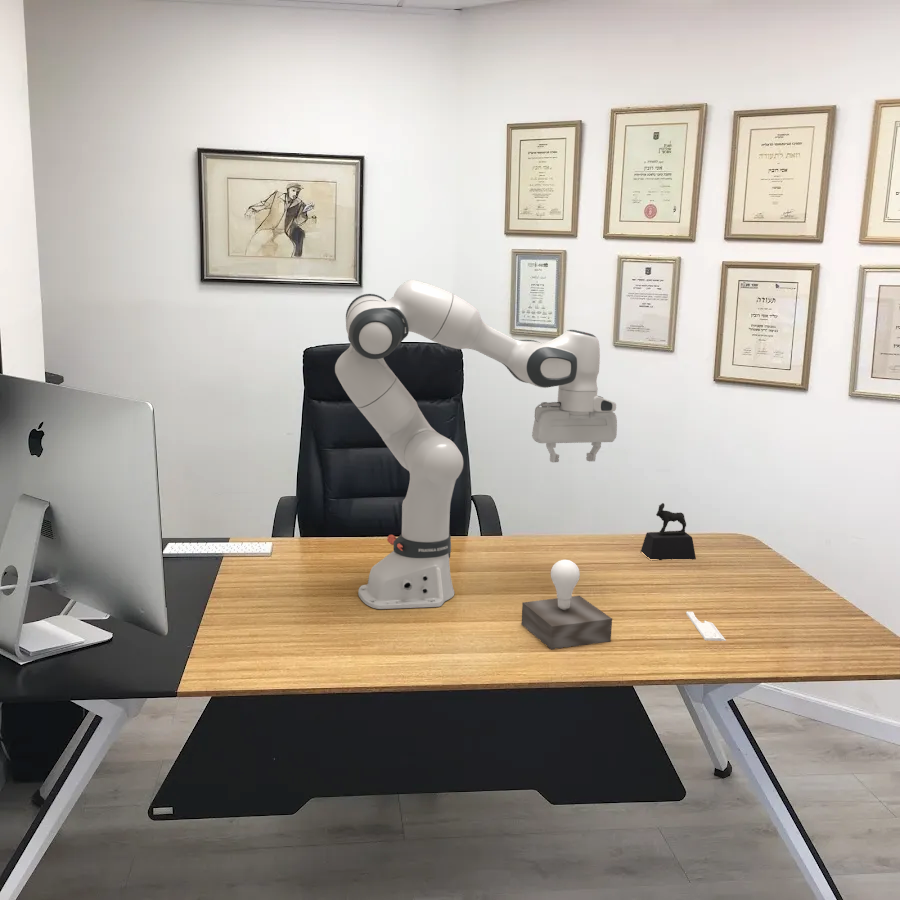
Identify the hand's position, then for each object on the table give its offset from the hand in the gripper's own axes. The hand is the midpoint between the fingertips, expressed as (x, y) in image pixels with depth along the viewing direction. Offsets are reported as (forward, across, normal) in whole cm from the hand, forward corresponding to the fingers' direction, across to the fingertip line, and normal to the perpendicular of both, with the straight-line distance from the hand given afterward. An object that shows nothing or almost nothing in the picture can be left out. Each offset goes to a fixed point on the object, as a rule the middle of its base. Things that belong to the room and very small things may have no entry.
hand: (572, 461), depth 215 cm
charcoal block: (+33, -10, -20) cm, 40 cm away
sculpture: (+31, +42, +20) cm, 56 cm away
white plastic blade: (+33, +22, -26) cm, 47 cm away
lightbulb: (+28, -10, -20) cm, 36 cm away
